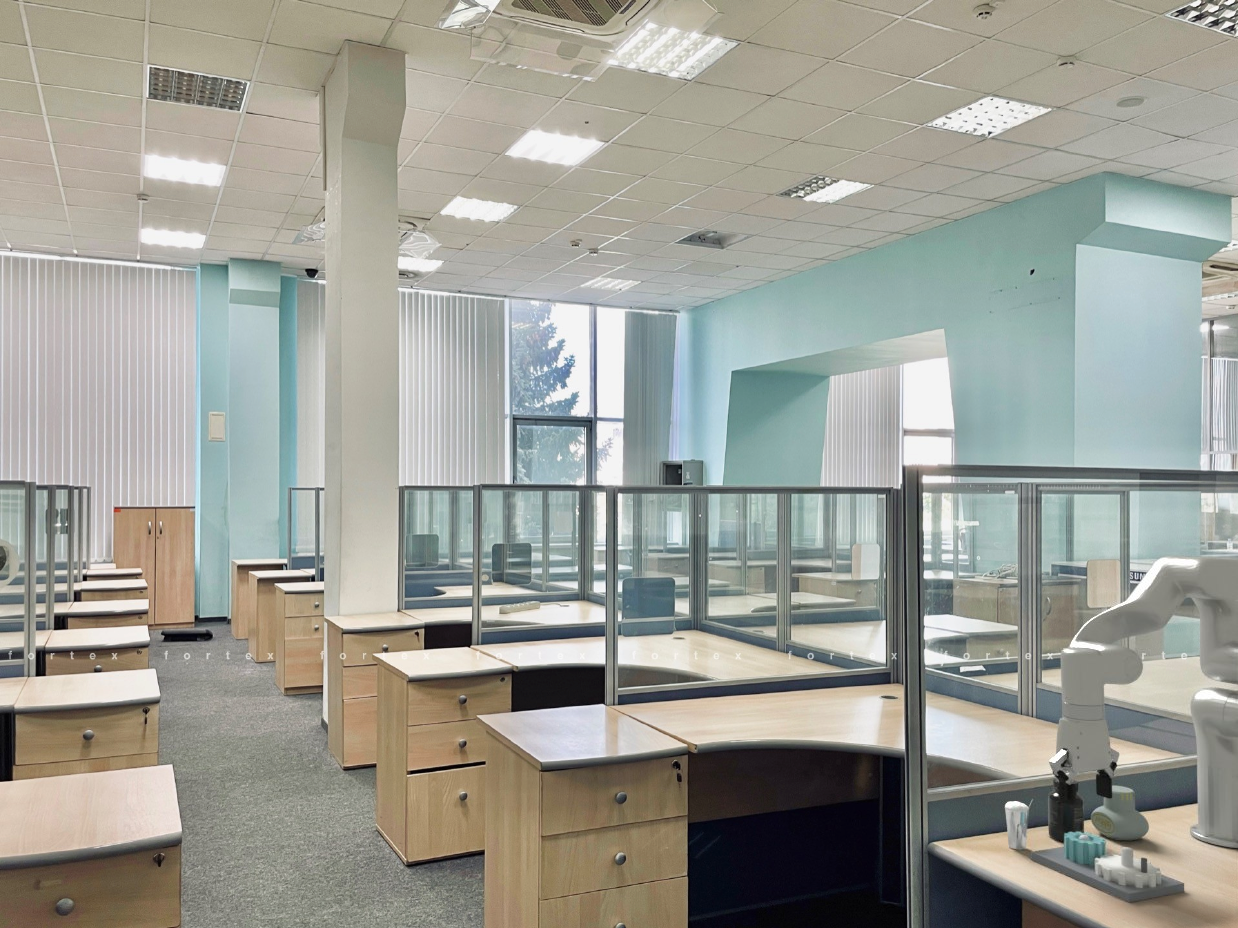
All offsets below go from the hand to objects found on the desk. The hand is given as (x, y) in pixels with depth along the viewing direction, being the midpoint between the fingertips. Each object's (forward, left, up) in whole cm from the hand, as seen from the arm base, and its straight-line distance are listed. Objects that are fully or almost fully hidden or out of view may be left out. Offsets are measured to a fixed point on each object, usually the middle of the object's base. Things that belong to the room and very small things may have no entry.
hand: (1086, 799), depth 183 cm
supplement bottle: (-9, -13, -13) cm, 21 cm away
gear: (+1, 0, -11) cm, 11 cm away
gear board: (+1, +5, -13) cm, 13 cm away
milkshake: (+5, -12, -13) cm, 19 cm away
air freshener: (-21, -10, -13) cm, 27 cm away
